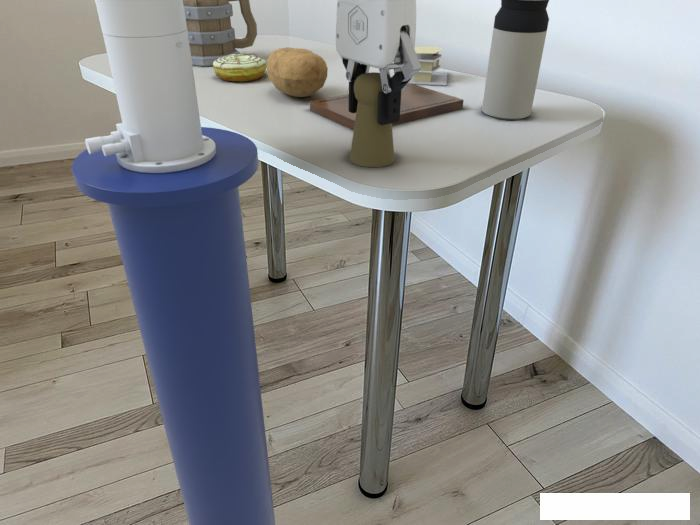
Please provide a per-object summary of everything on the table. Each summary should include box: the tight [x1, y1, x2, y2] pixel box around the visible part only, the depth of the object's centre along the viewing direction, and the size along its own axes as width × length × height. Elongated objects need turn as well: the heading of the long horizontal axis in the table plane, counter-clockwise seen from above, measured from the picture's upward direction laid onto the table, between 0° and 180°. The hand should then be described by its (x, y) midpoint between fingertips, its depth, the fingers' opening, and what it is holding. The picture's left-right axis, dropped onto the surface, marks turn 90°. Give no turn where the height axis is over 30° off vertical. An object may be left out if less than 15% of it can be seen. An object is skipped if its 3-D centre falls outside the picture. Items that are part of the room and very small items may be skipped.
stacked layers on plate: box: [409, 46, 448, 86], centre depth 108 cm, size 10×9×6 cm
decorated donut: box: [212, 53, 267, 83], centre depth 108 cm, size 10×11×4 cm
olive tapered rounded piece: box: [349, 71, 396, 168], centre depth 70 cm, size 6×6×11 cm
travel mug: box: [481, 0, 550, 121], centre depth 86 cm, size 8×8×18 cm
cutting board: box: [309, 82, 465, 131], centre depth 91 cm, size 22×14×2 cm, turn 127°
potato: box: [266, 47, 329, 98], centre depth 96 cm, size 10×14×8 cm
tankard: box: [183, 0, 258, 67], centre depth 119 cm, size 20×13×15 cm, turn 114°
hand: (373, 115), depth 69 cm, fingers closed on olive tapered rounded piece, 5 cm apart
